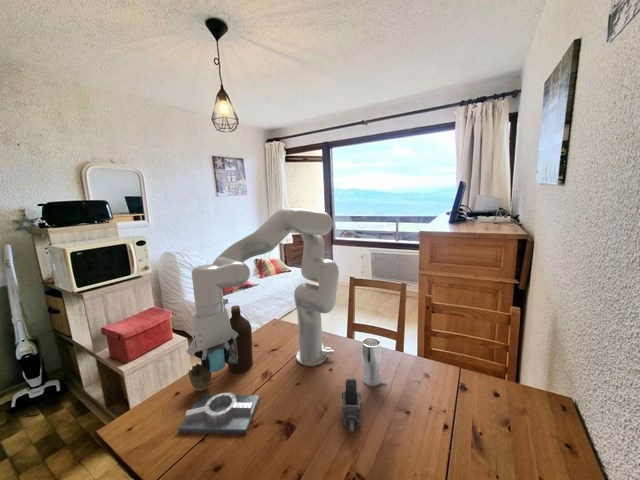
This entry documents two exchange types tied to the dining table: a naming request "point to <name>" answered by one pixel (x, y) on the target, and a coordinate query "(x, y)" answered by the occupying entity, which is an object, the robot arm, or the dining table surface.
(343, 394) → the caster wheel
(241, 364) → the olive oil
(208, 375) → the cup
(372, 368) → the beer glass
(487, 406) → the dining table surface
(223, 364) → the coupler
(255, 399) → the coupling base
